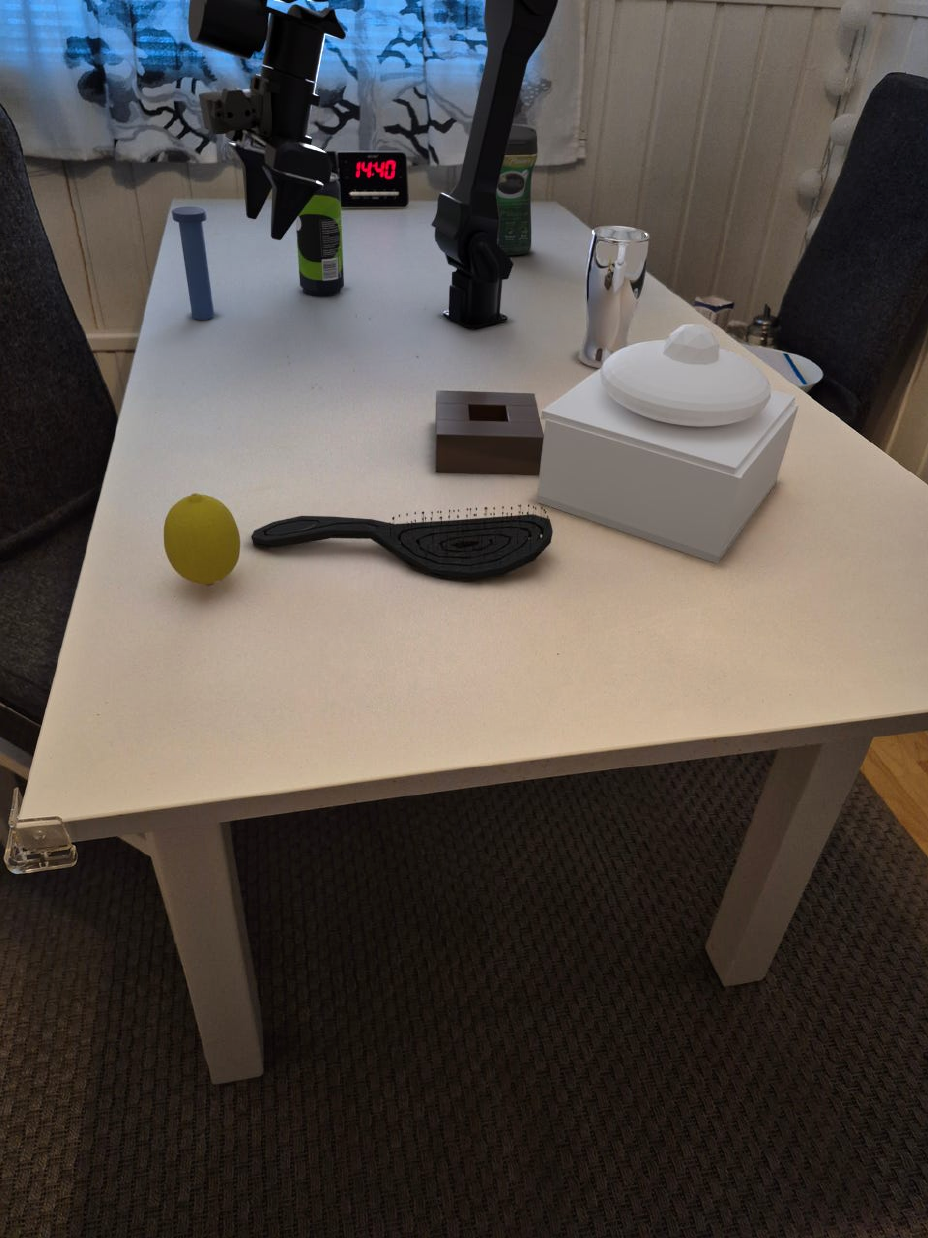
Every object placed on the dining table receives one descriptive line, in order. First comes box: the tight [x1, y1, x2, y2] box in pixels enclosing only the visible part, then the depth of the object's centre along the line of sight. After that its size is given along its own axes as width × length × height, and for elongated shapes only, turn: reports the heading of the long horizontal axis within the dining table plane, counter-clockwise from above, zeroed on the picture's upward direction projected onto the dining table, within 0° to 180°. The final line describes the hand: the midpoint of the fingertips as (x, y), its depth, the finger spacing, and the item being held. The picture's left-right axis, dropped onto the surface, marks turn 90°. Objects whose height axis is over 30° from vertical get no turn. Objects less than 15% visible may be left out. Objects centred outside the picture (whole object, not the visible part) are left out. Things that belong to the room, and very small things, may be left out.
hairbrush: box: [250, 503, 554, 582], centre depth 73 cm, size 8×4×25 cm
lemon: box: [163, 492, 241, 586], centre depth 67 cm, size 6×6×8 cm
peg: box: [171, 206, 215, 321], centre depth 112 cm, size 4×4×13 cm
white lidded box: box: [536, 323, 800, 564], centre depth 79 cm, size 18×18×16 cm
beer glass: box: [578, 225, 651, 369], centre depth 105 cm, size 7×7×15 cm
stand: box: [434, 389, 544, 476], centre depth 88 cm, size 10×10×4 cm
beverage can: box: [295, 172, 345, 297], centre depth 122 cm, size 6×6×15 cm
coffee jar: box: [496, 123, 539, 256], centre depth 141 cm, size 10×8×19 cm
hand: (263, 228), depth 100 cm, fingers open, 9 cm apart
